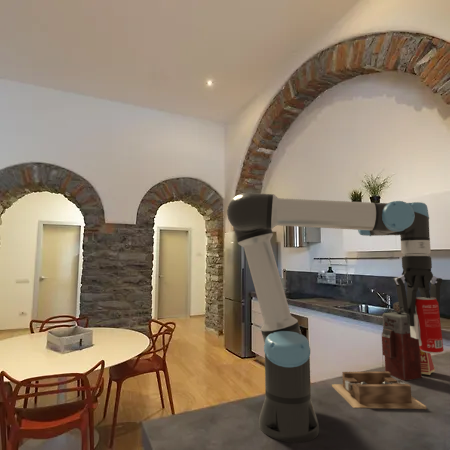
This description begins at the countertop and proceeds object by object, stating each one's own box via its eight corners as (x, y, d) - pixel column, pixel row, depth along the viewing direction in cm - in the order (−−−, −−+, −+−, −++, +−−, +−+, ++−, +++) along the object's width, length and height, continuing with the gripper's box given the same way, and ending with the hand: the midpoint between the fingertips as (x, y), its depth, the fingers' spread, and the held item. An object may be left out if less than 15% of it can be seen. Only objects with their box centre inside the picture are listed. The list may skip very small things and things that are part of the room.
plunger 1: (348, 391, 104) (348, 383, 104) (345, 388, 106) (345, 380, 107) (369, 390, 104) (369, 383, 105) (366, 388, 107) (365, 380, 107)
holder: (353, 411, 96) (352, 389, 97) (331, 387, 114) (331, 369, 115) (426, 410, 97) (425, 388, 97) (393, 387, 114) (392, 369, 115)
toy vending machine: (380, 373, 128) (377, 301, 131) (401, 370, 132) (397, 300, 135) (399, 381, 120) (395, 304, 123) (421, 377, 124) (417, 302, 127)
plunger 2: (384, 390, 104) (383, 382, 105) (380, 387, 107) (380, 380, 107) (405, 390, 105) (404, 382, 105) (400, 387, 107) (400, 380, 107)
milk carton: (410, 365, 139) (407, 317, 141) (435, 370, 132) (432, 320, 134) (403, 370, 132) (400, 320, 134) (429, 376, 126) (426, 323, 128)
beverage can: (446, 351, 91) (443, 297, 93) (438, 355, 87) (434, 299, 89) (423, 347, 96) (420, 295, 97) (414, 351, 92) (410, 297, 93)
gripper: (396, 255, 92) (400, 341, 89) (452, 255, 92) (458, 340, 89) (382, 255, 99) (386, 334, 96) (434, 255, 99) (439, 334, 97)
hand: (421, 337), depth 93 cm, fingers closed on beverage can, 3 cm apart
